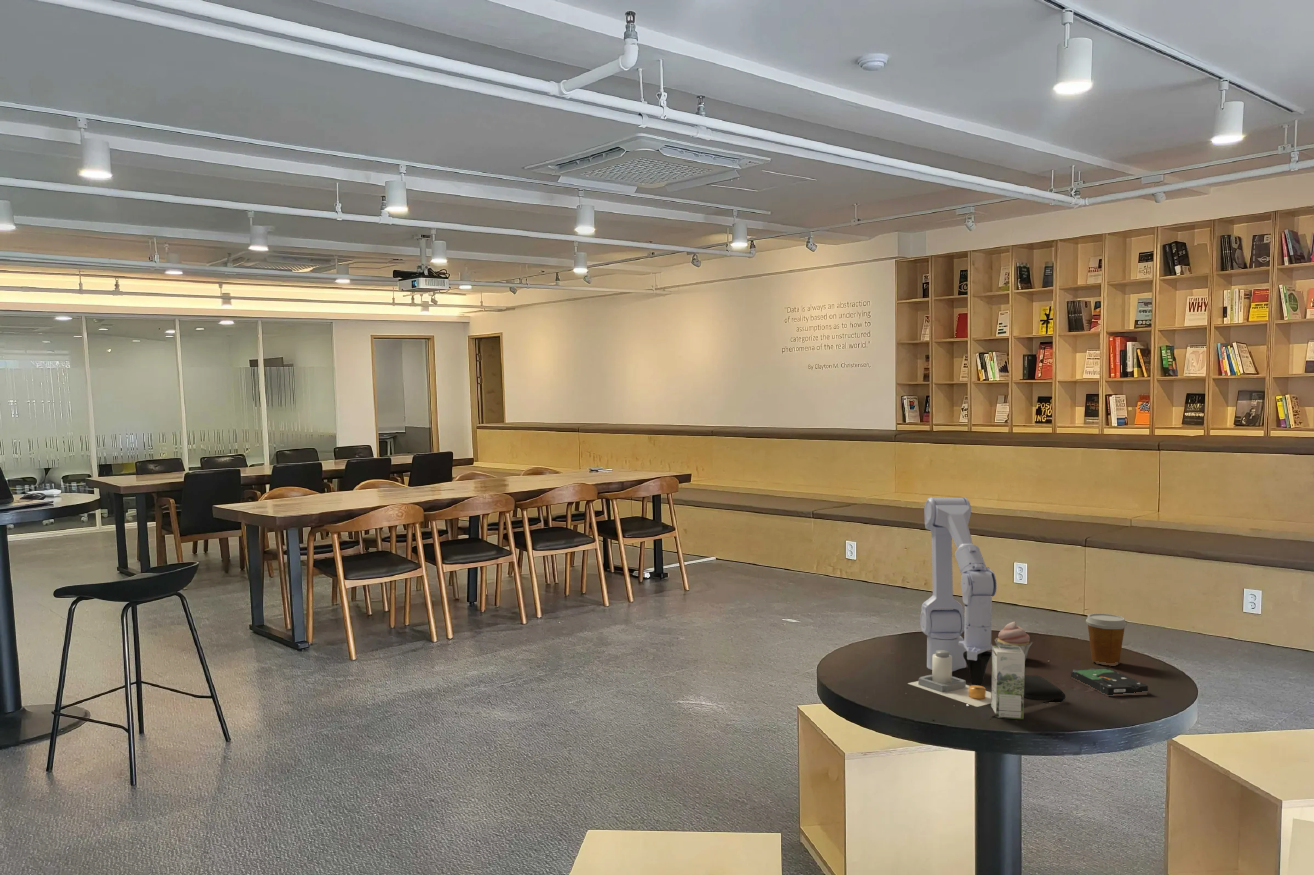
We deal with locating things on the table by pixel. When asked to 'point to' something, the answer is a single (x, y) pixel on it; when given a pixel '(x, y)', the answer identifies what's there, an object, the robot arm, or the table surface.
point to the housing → (952, 690)
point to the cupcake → (1014, 637)
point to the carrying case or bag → (1041, 689)
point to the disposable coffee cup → (1106, 636)
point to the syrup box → (1008, 682)
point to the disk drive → (1109, 681)
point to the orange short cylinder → (977, 692)
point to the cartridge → (942, 667)
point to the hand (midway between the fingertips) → (977, 684)
